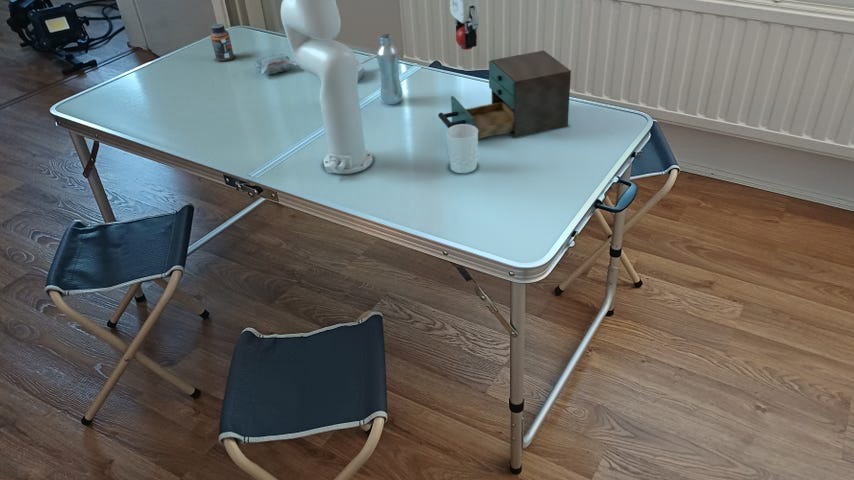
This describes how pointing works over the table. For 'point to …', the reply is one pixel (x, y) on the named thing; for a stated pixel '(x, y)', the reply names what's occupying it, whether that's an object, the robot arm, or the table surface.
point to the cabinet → (532, 91)
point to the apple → (462, 37)
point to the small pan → (360, 66)
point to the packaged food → (274, 64)
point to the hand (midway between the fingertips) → (466, 42)
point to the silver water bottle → (389, 70)
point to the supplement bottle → (221, 43)
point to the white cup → (462, 147)
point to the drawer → (481, 118)
